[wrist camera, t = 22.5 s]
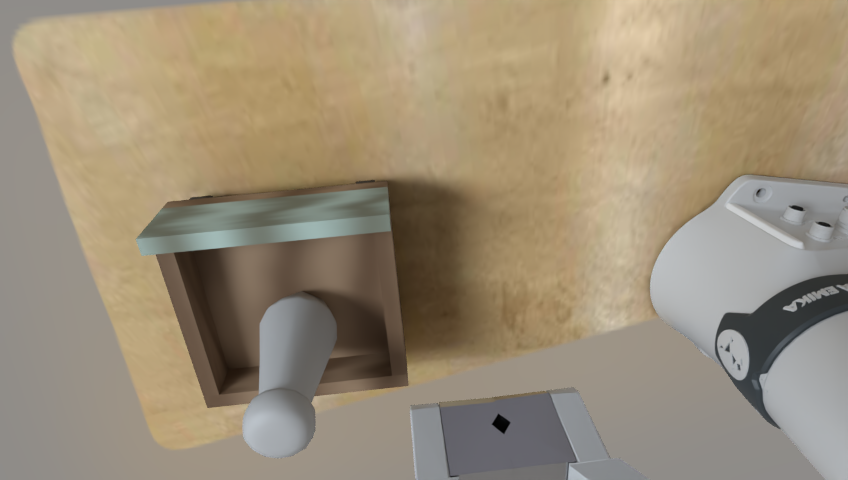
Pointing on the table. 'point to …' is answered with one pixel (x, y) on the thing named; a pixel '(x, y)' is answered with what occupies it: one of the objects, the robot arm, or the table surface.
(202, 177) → the table surface
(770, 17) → the table surface
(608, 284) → the table surface
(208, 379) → the open wooden tray
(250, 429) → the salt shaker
